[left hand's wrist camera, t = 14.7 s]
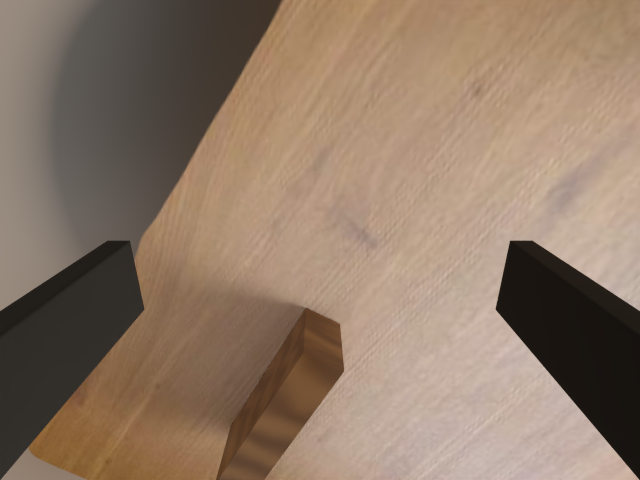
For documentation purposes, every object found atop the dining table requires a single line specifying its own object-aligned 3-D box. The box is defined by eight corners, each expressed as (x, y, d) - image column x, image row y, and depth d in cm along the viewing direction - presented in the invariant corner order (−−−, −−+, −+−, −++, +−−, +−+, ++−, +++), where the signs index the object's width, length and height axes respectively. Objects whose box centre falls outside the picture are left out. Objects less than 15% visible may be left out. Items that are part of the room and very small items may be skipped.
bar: (306, 307, 45) (303, 352, 37) (340, 324, 46) (344, 371, 38) (230, 426, 52) (214, 484, 44) (261, 438, 53) (250, 497, 45)
